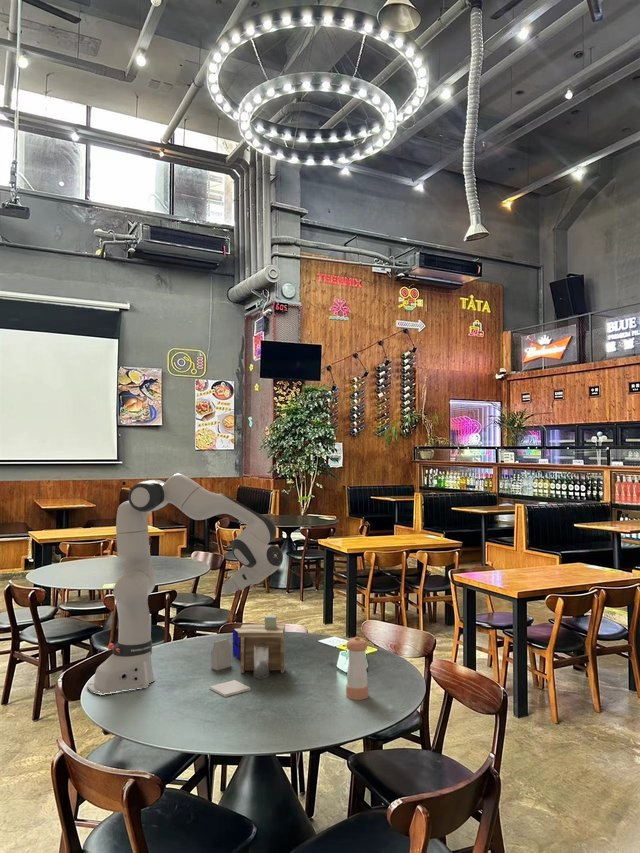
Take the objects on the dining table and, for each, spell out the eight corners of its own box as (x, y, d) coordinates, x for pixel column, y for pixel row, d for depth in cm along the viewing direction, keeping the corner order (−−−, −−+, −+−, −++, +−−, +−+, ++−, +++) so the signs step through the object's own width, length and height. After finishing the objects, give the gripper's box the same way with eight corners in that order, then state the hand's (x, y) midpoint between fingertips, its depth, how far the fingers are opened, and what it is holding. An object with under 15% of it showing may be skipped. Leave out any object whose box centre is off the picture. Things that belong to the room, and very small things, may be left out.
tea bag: (231, 666, 235) (231, 639, 235) (217, 670, 229) (217, 643, 230) (224, 664, 237) (225, 637, 238) (211, 668, 232) (211, 641, 233)
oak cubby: (282, 680, 219) (282, 632, 220) (237, 680, 219) (238, 632, 220) (284, 669, 231) (284, 624, 232) (242, 669, 231) (242, 624, 232)
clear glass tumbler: (259, 679, 219) (259, 648, 220) (250, 675, 224) (250, 644, 224) (272, 676, 223) (272, 645, 224) (263, 672, 227) (263, 642, 228)
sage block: (275, 628, 226) (275, 617, 226) (264, 628, 226) (264, 617, 226) (276, 625, 230) (276, 614, 230) (265, 625, 230) (265, 614, 230)
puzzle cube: (232, 653, 250) (232, 628, 251) (255, 650, 255) (255, 626, 255) (239, 660, 241) (239, 634, 242) (263, 657, 246) (264, 631, 246)
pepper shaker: (350, 701, 199) (349, 640, 200) (343, 693, 206) (343, 634, 207) (371, 698, 201) (371, 638, 202) (363, 691, 208) (363, 633, 209)
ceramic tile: (224, 697, 203) (224, 694, 203) (209, 688, 210) (209, 686, 210) (250, 690, 209) (250, 687, 209) (234, 682, 217) (234, 679, 217)
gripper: (271, 550, 228) (255, 563, 238) (229, 575, 214) (213, 588, 224) (280, 565, 227) (263, 577, 237) (238, 591, 213) (222, 603, 223)
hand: (239, 582), depth 230 cm, fingers open, 8 cm apart
